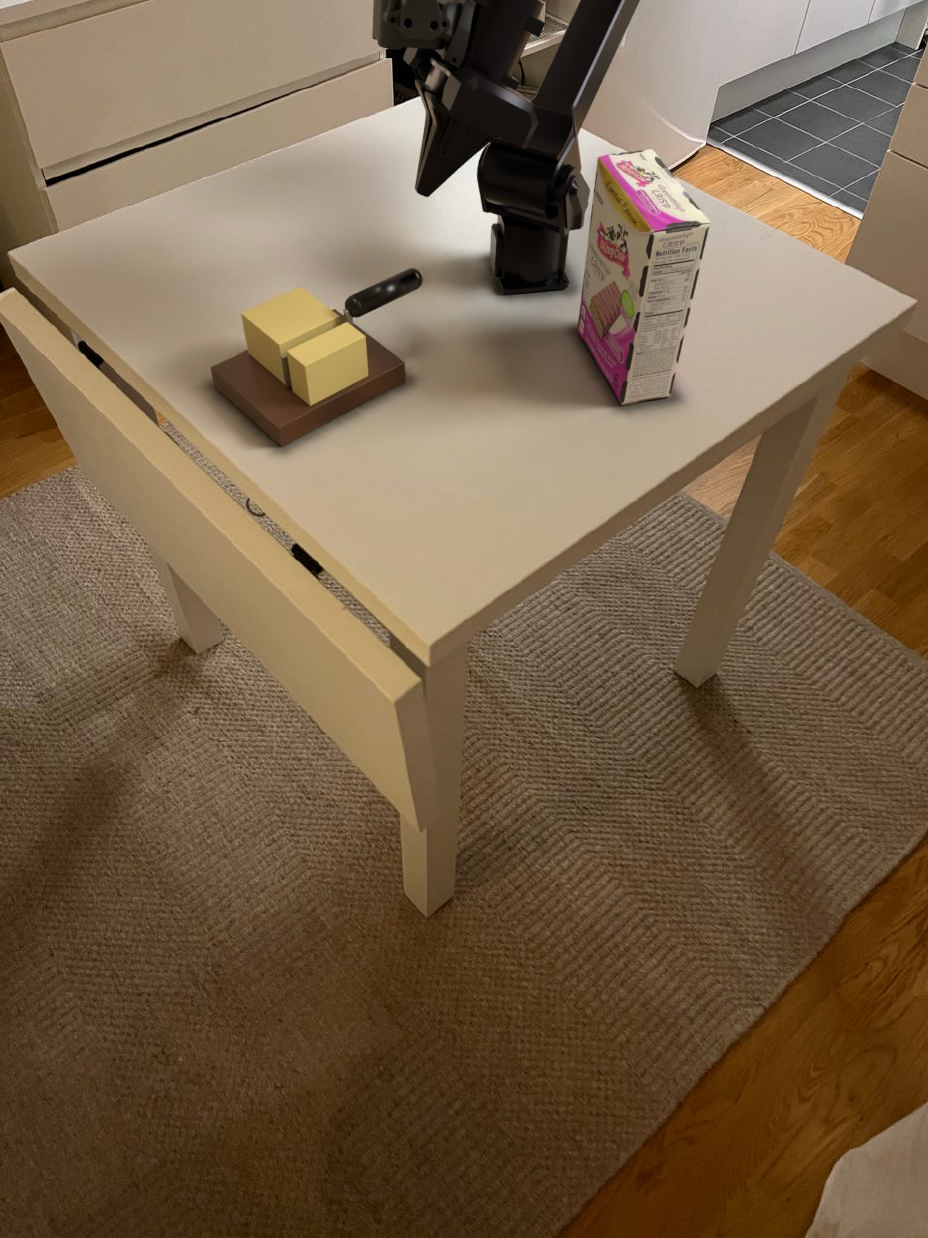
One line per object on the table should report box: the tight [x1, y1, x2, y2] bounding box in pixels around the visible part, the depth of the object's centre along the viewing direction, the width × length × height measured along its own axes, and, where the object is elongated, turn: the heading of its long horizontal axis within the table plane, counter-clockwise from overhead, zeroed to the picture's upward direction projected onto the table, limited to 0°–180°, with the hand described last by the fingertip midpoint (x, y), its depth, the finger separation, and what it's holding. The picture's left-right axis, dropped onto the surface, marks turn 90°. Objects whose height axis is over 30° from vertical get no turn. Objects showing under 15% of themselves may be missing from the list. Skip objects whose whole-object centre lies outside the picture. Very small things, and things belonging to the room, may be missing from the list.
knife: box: [281, 267, 424, 388], centre depth 80 cm, size 14×2×5 cm, turn 131°
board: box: [209, 308, 407, 448], centre depth 82 cm, size 13×10×2 cm
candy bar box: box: [576, 148, 712, 406], centre depth 79 cm, size 11×5×16 cm, turn 17°
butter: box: [240, 286, 368, 406], centre depth 80 cm, size 6×9×4 cm, turn 41°
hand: (421, 193), depth 77 cm, fingers closed
